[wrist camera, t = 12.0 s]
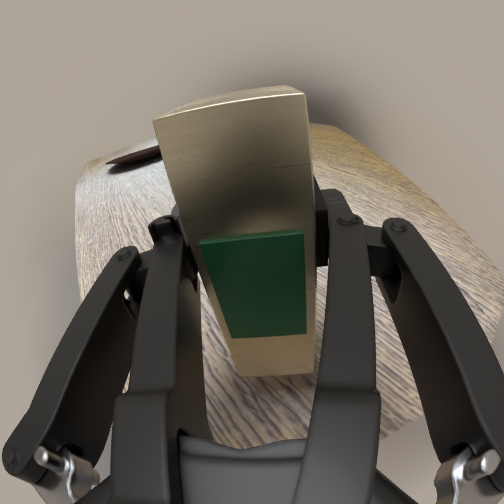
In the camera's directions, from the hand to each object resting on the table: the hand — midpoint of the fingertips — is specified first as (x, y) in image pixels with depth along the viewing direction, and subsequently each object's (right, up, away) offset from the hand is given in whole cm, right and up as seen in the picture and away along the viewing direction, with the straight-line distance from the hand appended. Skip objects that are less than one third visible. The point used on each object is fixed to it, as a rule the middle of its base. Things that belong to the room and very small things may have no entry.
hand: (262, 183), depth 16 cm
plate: (-32, +25, +61) cm, 73 cm away
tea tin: (+1, -9, 0) cm, 9 cm away
